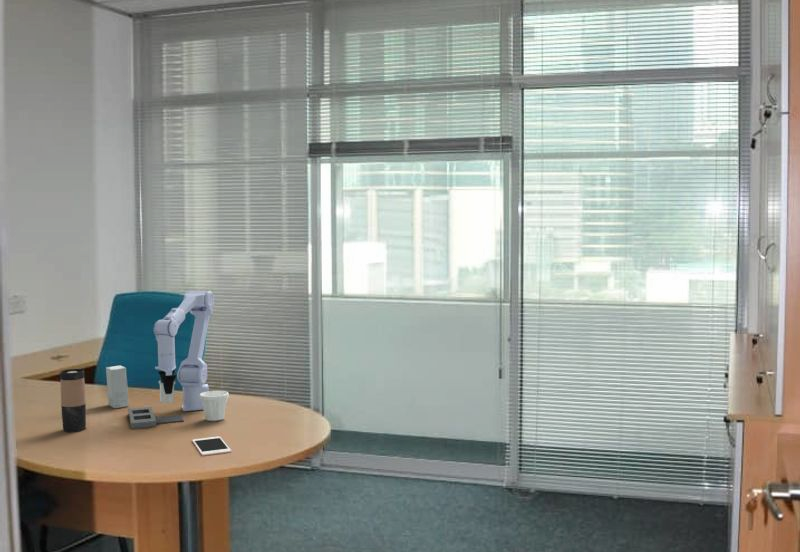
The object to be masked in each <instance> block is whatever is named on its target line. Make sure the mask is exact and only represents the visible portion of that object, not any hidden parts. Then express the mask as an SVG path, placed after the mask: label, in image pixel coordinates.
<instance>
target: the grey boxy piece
mask: <svg viewBox="0 0 800 552" xmlns="http://www.w3.org/2000/svg"><path fill="white" fill-rule="evenodd" d="M158 384H159V402H160V403H161V404H166V403H175V385H176V381H175V380H174V384H173V390H172V394H165V390H164V385H163V381H162V380H158Z"/></svg>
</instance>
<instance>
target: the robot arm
mask: <svg viewBox="0 0 800 552" xmlns="http://www.w3.org/2000/svg"><path fill="white" fill-rule="evenodd" d="M215 300H216V299H215V297H214V294H213V292H212V291H211V290H207V291H206V290H187V291H186V292H185V293H184V294H183V300H182V302H181V303H180V304H179V306H178V307H172V308H171V310H170V311H169V312H168V313H167V314H166V315H165V316H164V317H163V318H162V319H158V320H156V321H155V323H154V326H153V333H154V336H155V340H156V342H157V361H158V366H155V367H154V369H155V370H158V371H157V373H158V374H159V377H160V379H161V380H160V381H163V385H164V390H165V394H172V390H173V384H174V381H175V380H176V378H177V381H178V383H180V386H182V405H181V409H182V411H183V412H191V411H192V412H193V411H199V410H203V406H202V402H201V399H200V394H201V393H203V392H208V391H210V388H209V384H208V383H206V382H207V380H208V364H207V363H206V362H204V360H203V356H204V355H203V354H204V349H205V343H206V338H207V333H208V326H209V322H210V316H211V315H212V314H213V313H214V312H213V311H214V307H215V306H214V305H215ZM188 313H190V314H191V315H193V316H194V322H193V323H194V324H193V329H192V333H191V340H190V345H189V350H188V354H187V358H185V359H183V360H182V361H181V362H180V366H179V368H178V370H177V372H176V373H175V369H177V365H176V346H175V345H176V344H175V342H176V341H175V340H176V339H175V336H176V335H177V334H178V329H179V328H180V325H181V324H183V322H184V321H185V320H186V315H187V314H188ZM174 385H175V384H174ZM203 411H204V410H203Z"/></svg>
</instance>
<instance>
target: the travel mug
mask: <svg viewBox="0 0 800 552" xmlns="http://www.w3.org/2000/svg"><path fill="white" fill-rule="evenodd" d="M59 374H60V375H59V376H60V380H59V381H60V407H61V420H62V429H63V432H65V433H78V432H82V431H85V430H86V429H87V427H86V425H87V424H86V423H87V420H86V419H87V418H86V416H87V413H86V412H87V409H86V408H87V407H86V403H87V402H86V384H85V383H86V382H85V370H84V369H82V368H72V369H64V370H61V371H60V372H59Z"/></svg>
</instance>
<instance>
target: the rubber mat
mask: <svg viewBox="0 0 800 552" xmlns="http://www.w3.org/2000/svg"><path fill="white" fill-rule="evenodd" d="M155 419H156V425H159V424H160V425H161V424H170V423H173V424H174V423H181V422H184V418H183V416H182V414H174V415H173V414H171V415H163V416H162V415H160V416H155Z"/></svg>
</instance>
